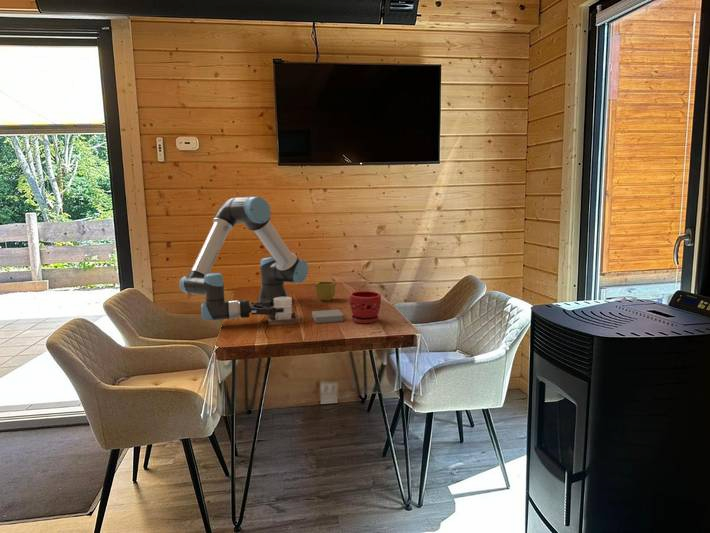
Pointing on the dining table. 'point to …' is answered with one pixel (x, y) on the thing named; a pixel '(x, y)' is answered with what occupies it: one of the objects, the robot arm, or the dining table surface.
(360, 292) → the plant pot
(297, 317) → the walnut frame
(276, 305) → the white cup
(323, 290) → the flower pot
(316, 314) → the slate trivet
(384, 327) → the dining table surface
